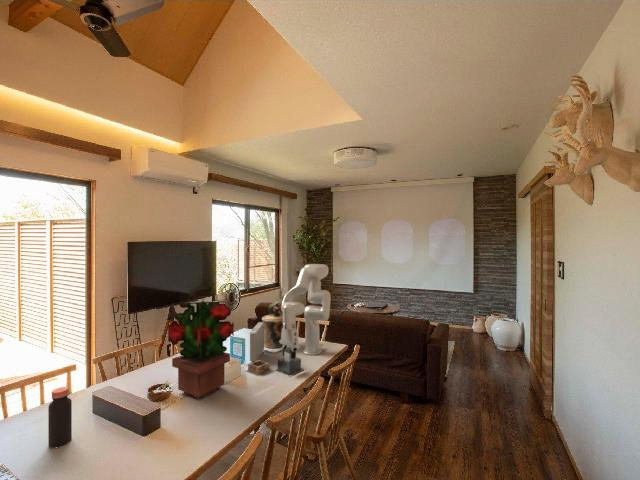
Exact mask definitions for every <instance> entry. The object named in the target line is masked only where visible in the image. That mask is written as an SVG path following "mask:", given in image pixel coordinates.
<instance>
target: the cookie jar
mask: <svg viewBox="0 0 640 480" xmlns="http://www.w3.org/2000/svg"><path fill="white" fill-rule="evenodd" d="M267 311H268V315H264V316H262V317H261V322H264V349H263V351H264V352H269V354H270V353H271V354H275V353H278V352H280V351H283V349H282V346H281V344H280V342H279V341H280V340H281V333H282V328H283V312H282V311H280V309H279V301H278V300H277V301H276V302H273V303H271V304H270V305H268V309H267ZM289 347H290V346H287V347H286V348H289ZM290 348H291V347H290Z"/></svg>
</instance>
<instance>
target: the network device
mask: <svg viewBox="0 0 640 480" xmlns="http://www.w3.org/2000/svg"><path fill="white" fill-rule="evenodd" d="M263 349H264V322H263V321H261V322H260V321H258V322H257V324H255V326H254V327H253V328H252V329H251V331H249V362H255V361H257V360H259V358H260V356H261V355H262V354H264V355H266V354H267V351H264V350H263Z"/></svg>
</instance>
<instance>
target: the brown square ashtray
mask: <svg viewBox="0 0 640 480" xmlns="http://www.w3.org/2000/svg"><path fill="white" fill-rule="evenodd" d="M270 371H272V368H270V363H269V362H267V361H264V360H261V359H258V360H257V361H251V362H250V363H248V364H247V370H245V372H246V373H249V374H251V375H253V376H256V377H259V376H261V375H264V374H266V373H268V372H270Z"/></svg>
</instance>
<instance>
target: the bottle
mask: <svg viewBox="0 0 640 480" xmlns="http://www.w3.org/2000/svg"><path fill="white" fill-rule="evenodd" d="M68 396H69V387H68V386H61V387H57V388H55V389H53V390H52V391H51V400H52V401H51V402H50V403H49V404H48V409H47V411H48V413H47V414H48V417H47V418H48V427H47V428H48V433H47V434H48V437H47V438H48V443H47V444H48V445H47V446H48V447H49V448H50V449H55V448H56V447H57V448H61V447H63V446H66V445H67V444H68V442H69V443H70V442H71V440H72V434H73V433H72V431H73V430H72V428H73V427H72V426H73V425H72V424H73V423H72V422H73V421H72V413H73V412H72V411H73V409H72V407H73V406H72V404H73V403H72V399H71V398H70V397H68ZM60 446H61V447H60ZM57 448H56V449H57Z"/></svg>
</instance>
